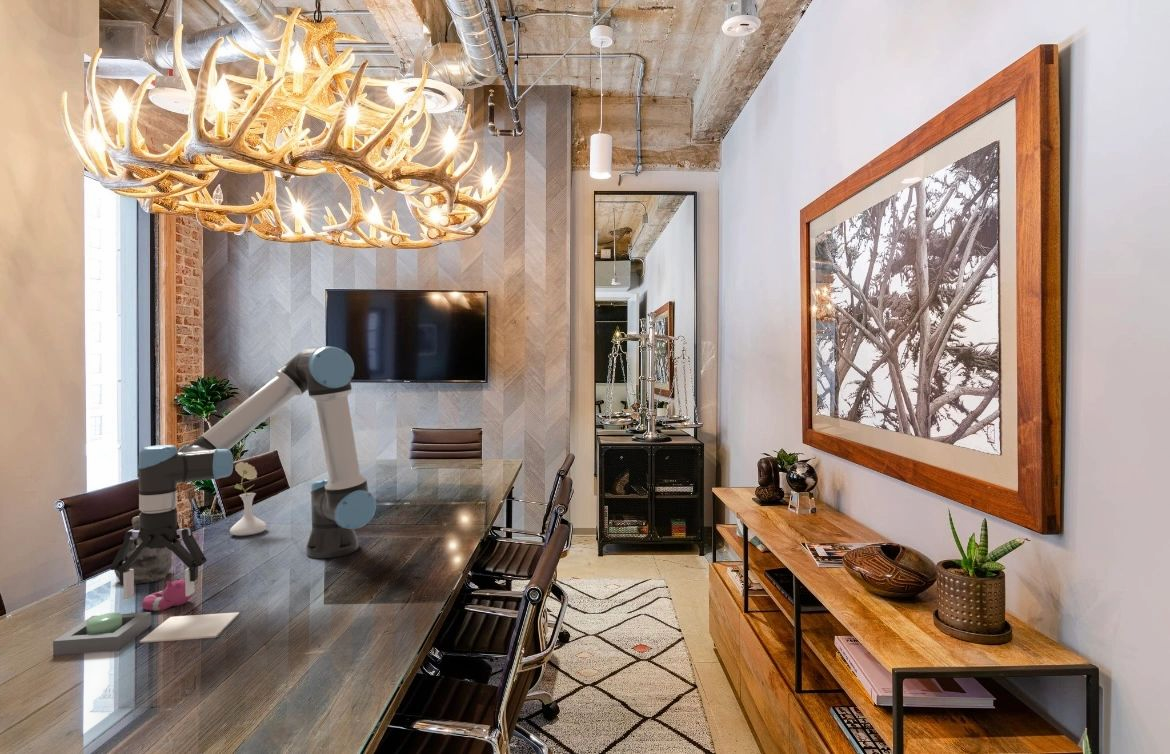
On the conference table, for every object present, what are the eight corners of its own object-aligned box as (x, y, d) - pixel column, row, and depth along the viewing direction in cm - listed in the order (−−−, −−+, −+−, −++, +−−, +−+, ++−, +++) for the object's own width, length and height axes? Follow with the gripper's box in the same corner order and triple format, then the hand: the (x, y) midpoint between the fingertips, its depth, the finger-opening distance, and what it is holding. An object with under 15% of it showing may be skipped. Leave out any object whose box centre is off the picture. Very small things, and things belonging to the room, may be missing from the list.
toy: (206, 595, 152) (194, 571, 146) (183, 626, 145) (170, 603, 139) (164, 589, 152) (151, 565, 147) (140, 620, 145) (125, 596, 139)
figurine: (107, 581, 161) (104, 516, 161) (151, 567, 172) (150, 506, 172) (138, 588, 156) (136, 521, 156) (182, 573, 167) (180, 510, 167)
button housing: (151, 624, 134) (150, 612, 134) (118, 650, 123) (117, 636, 122) (92, 629, 133) (92, 615, 132) (53, 655, 121) (52, 641, 121)
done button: (128, 624, 131) (128, 611, 131) (111, 637, 125) (110, 623, 125) (98, 626, 130) (98, 613, 130) (79, 639, 124) (79, 625, 124)
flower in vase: (273, 531, 207) (272, 461, 206) (240, 540, 197) (238, 466, 196) (253, 526, 214) (252, 458, 213) (220, 534, 204) (218, 463, 203)
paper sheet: (239, 613, 140) (239, 612, 140) (215, 637, 128) (215, 635, 128) (170, 618, 138) (170, 616, 138) (139, 642, 126) (139, 641, 126)
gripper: (220, 504, 149) (221, 587, 149) (111, 507, 145) (112, 592, 145) (206, 511, 141) (207, 598, 142) (90, 515, 137) (92, 605, 138)
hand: (159, 595), depth 144 cm, fingers open, 13 cm apart
